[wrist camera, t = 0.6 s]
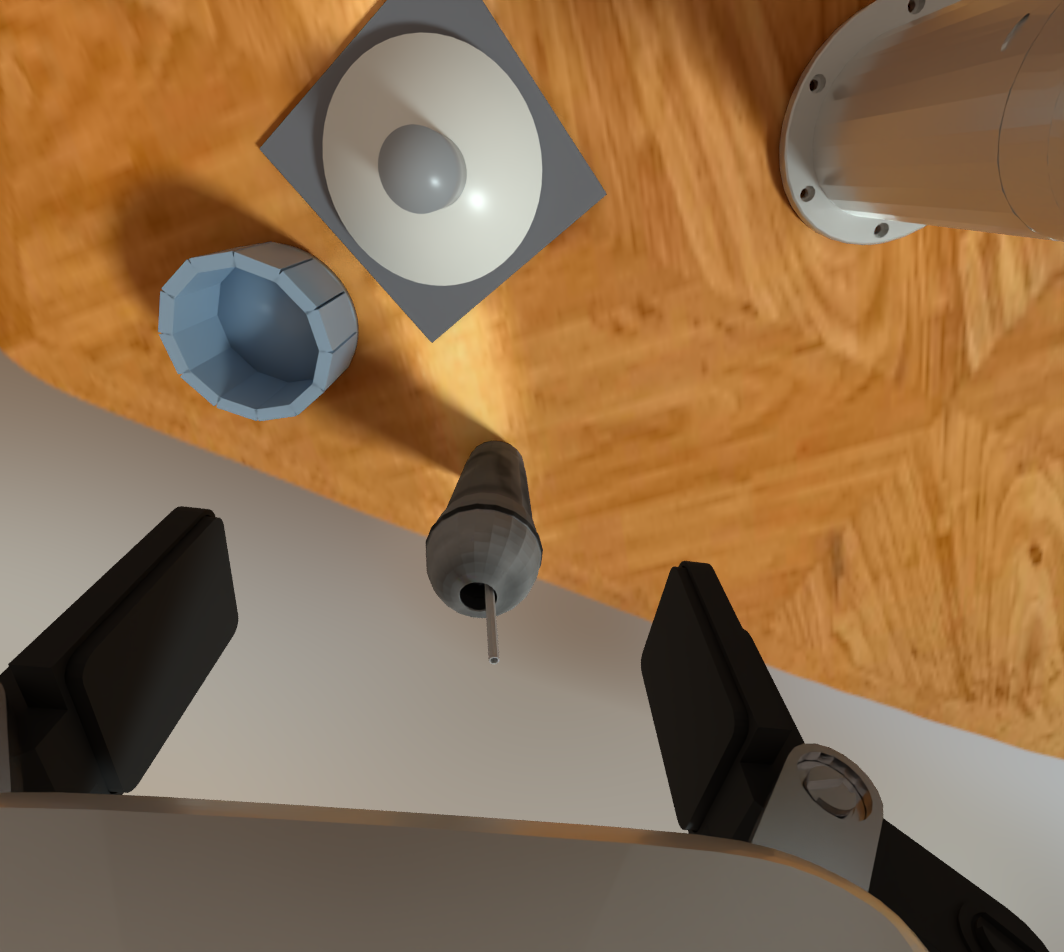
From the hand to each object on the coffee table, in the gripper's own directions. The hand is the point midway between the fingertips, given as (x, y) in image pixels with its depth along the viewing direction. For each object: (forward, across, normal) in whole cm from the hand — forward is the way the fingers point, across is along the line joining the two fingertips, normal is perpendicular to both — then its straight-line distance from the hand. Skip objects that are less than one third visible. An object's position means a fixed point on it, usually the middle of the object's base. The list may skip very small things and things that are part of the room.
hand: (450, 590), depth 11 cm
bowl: (+30, +15, +3) cm, 33 cm away
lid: (+29, +5, -8) cm, 30 cm away
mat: (+29, +5, -8) cm, 31 cm away
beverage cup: (+30, -1, +12) cm, 32 cm away
